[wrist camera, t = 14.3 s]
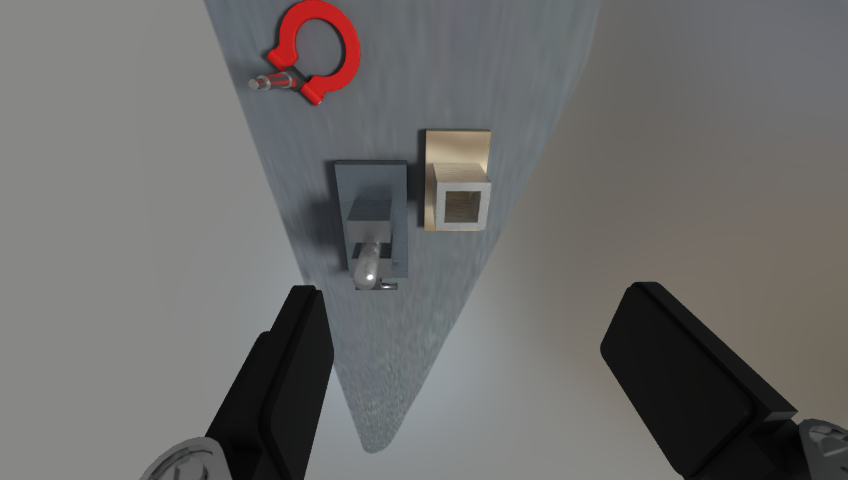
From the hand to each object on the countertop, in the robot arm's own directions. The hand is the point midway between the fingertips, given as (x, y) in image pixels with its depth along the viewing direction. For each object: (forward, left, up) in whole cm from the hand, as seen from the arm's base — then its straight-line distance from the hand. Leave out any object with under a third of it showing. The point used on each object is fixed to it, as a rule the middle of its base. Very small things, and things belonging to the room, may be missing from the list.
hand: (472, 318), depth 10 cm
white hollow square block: (+8, +4, -32) cm, 33 cm away
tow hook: (-7, -12, -34) cm, 36 cm away
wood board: (+8, +4, -33) cm, 34 cm away
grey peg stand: (+14, -7, -33) cm, 37 cm away
